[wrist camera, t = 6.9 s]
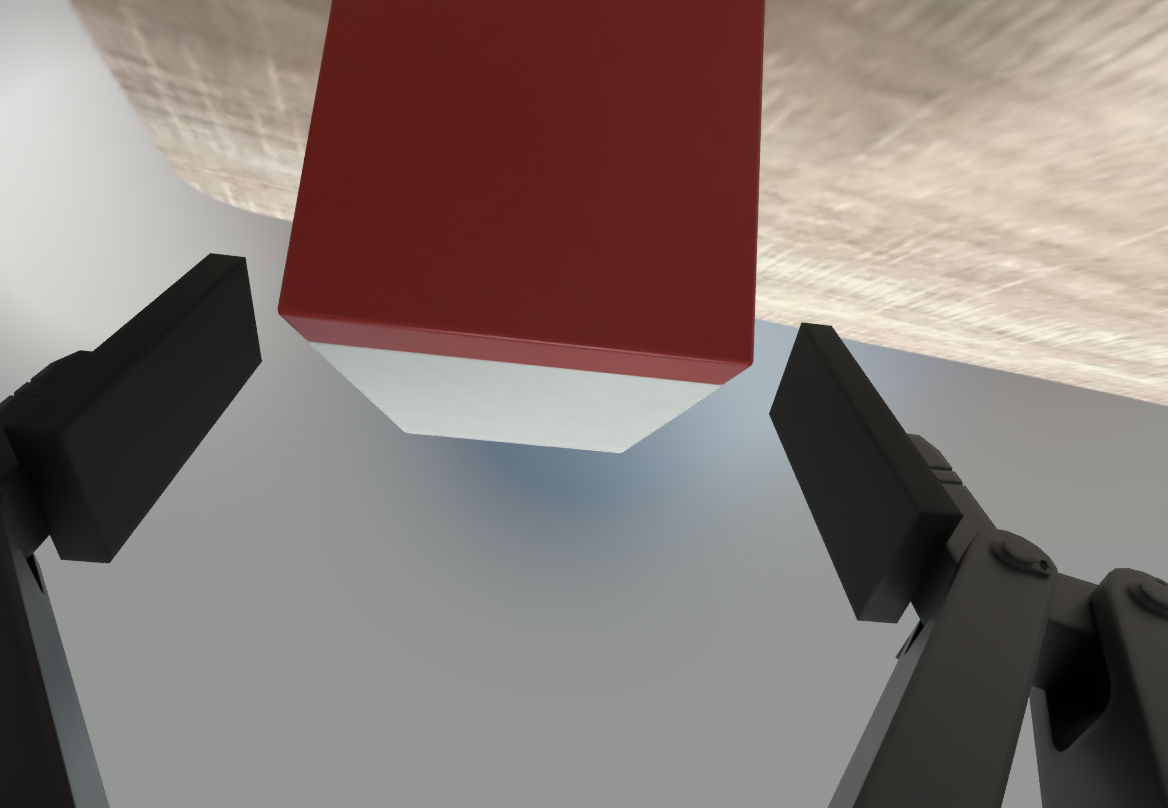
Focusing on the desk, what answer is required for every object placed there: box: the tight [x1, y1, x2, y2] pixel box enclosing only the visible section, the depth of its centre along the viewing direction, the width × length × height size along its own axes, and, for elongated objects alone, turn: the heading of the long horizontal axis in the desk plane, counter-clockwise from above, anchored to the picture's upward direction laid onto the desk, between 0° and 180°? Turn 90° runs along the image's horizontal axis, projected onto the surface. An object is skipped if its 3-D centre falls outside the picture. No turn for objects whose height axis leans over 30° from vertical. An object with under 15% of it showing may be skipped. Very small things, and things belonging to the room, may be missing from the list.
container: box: [278, 0, 765, 453], centre depth 16 cm, size 12×7×8 cm, turn 174°
